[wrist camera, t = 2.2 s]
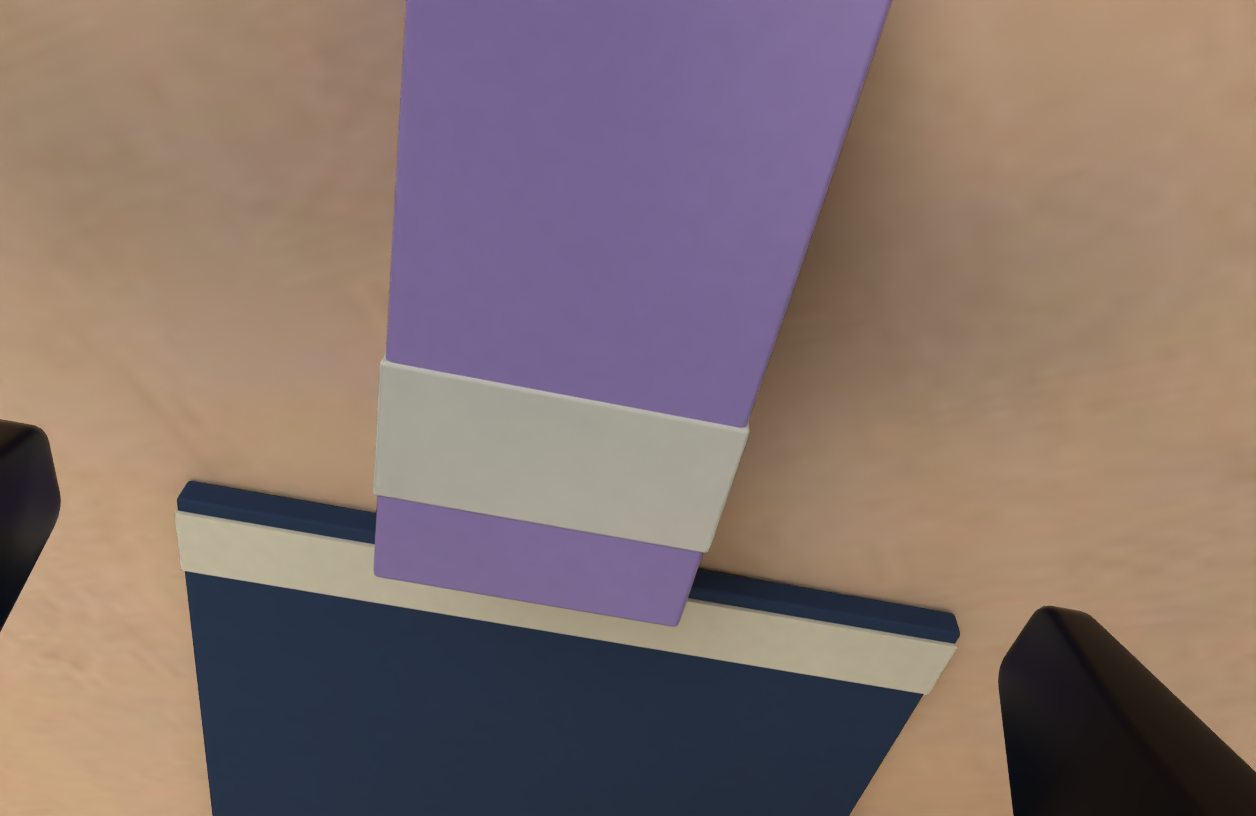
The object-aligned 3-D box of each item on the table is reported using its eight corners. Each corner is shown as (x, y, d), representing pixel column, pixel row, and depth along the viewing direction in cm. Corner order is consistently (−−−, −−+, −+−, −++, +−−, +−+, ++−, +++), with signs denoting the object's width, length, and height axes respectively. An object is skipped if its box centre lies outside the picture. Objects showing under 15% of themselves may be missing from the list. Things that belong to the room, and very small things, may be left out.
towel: (955, 612, 20) (963, 638, 19) (733, 982, 30) (734, 1006, 30) (188, 479, 19) (172, 502, 18) (232, 913, 29) (223, 936, 28)
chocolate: (877, -157, 12) (945, -125, 9) (680, 489, 18) (681, 632, 15) (479, -254, 11) (411, -254, 9) (418, 442, 18) (367, 580, 15)
